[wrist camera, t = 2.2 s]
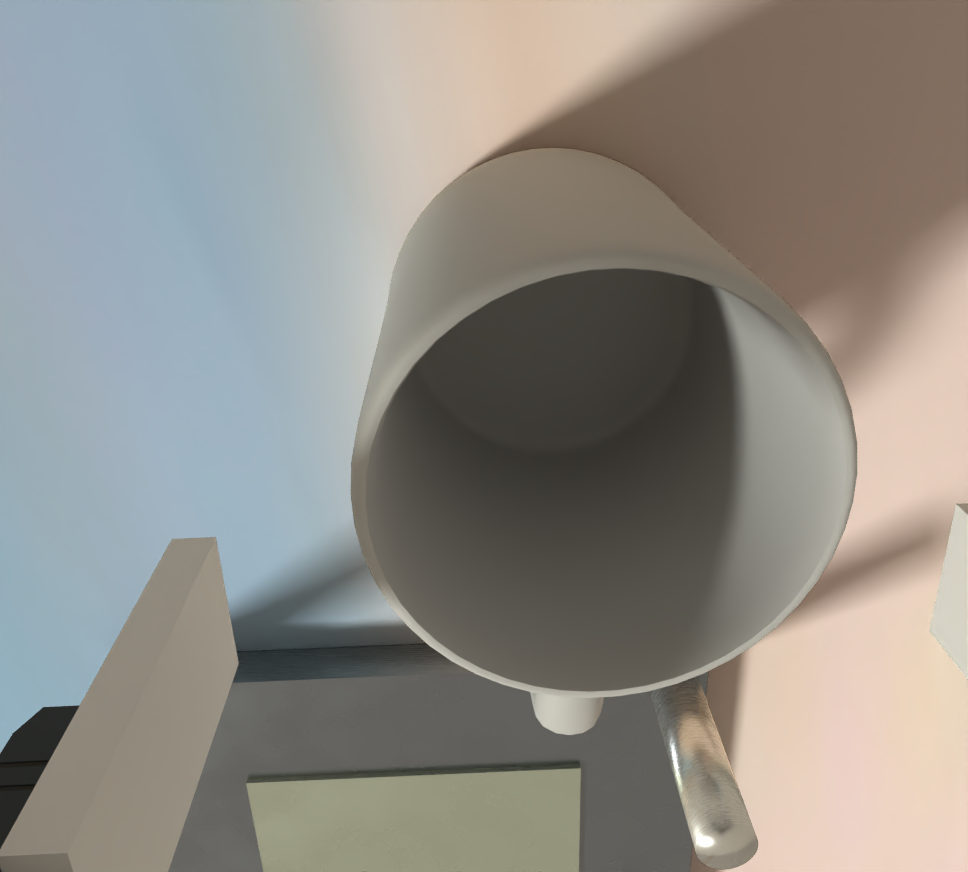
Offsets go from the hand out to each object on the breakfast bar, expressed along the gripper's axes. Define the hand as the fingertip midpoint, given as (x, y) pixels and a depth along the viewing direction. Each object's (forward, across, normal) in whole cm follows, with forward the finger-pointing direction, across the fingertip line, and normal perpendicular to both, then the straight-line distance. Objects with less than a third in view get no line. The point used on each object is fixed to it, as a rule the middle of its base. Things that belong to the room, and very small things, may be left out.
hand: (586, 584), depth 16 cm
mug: (+10, 0, 0) cm, 11 cm away
